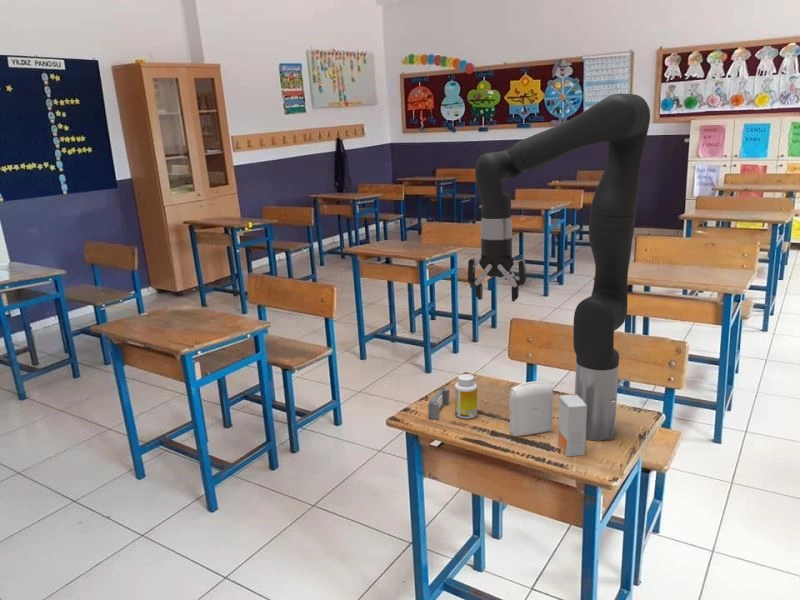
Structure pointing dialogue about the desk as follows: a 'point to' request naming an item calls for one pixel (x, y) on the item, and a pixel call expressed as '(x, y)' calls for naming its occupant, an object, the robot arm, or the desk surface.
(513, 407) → the photo printer
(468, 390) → the supplement bottle
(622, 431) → the desk surface
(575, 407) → the skincare box
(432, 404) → the grey bridge block
